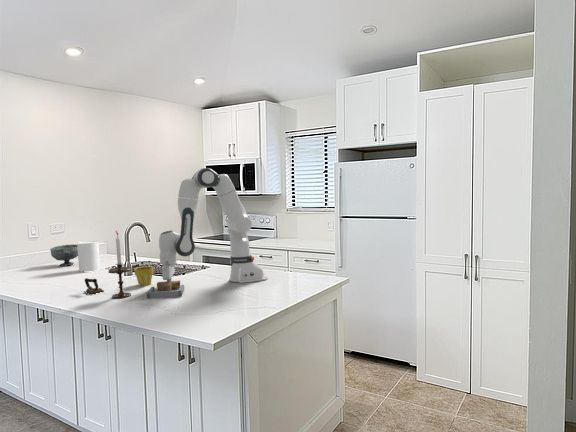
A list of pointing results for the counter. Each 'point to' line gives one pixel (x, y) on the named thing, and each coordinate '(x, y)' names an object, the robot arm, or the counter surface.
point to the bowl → (65, 253)
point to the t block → (168, 285)
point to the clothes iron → (90, 289)
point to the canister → (88, 256)
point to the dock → (164, 293)
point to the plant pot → (144, 275)
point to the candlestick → (119, 272)
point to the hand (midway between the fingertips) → (169, 284)
